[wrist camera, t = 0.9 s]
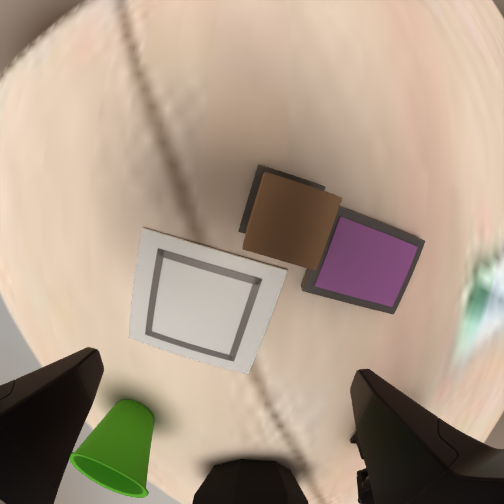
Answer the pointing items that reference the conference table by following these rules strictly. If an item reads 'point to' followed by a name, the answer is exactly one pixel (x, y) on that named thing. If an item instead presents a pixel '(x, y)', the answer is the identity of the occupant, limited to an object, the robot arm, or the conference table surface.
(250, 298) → the frame
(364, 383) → the robot arm
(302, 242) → the stamp
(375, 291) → the ink pad
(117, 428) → the cup
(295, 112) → the conference table surface
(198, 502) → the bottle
